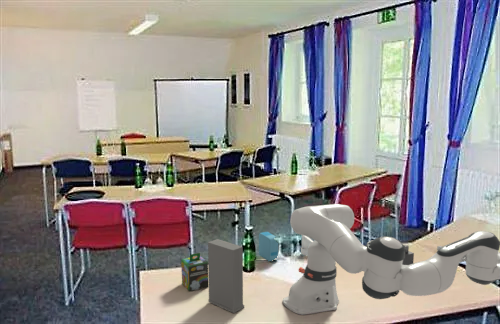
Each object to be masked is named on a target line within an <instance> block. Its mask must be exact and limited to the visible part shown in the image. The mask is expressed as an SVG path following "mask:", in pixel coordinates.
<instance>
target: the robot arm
mask: <svg viewBox="0 0 500 324" xmlns="http://www.w3.org/2000/svg"><path fill="white" fill-rule="evenodd" d="M289 223H290V227H291V229H292V230H293V231H294V233H296V234H297V235H300V236H302V235H304V236H307V237H309V238H310V239H311V240H313V242H312V243H311V244H310V245H309V247H308V256H306V257H307V260H306V261H307V262H306V263H307V264H306V266H305V268H303V267H301V266H300V267H299V268H298V272H299V273H301V274H303V275H302V276H301V277H300V278H299V279H297V281H296V282H294V284H292V285H291V286H290V288H289V291H288V296H286V297H283V299H282V305H284V306H285V307H286V308H287V309H288V310H290V311H291V312H293V313H295V314H298V315H300V316H301V315H303V316H304V315H309V314H316V313H322V312H328V311H330V312H331V311H336V310H337V309H338V307H337V305H338V304H339V303H340V300H339V296H338V291H337V283H336V277H337V266H336V264H337V265H338V266H340V267H341V268H342V269H343V270H344V271H345V272H347V273H349V274H352V275H353V274H359V273H361V272H363V277H362V279H361V287H362V290H363V292H364V293H365V294H366V295H368V296H369V297H370V298H372V299H374V300H385V299H389V298H391V297H393V298H394V297H396V296H397V295H399V293H400V291H401V292H402V293H404V294H406V295H408V296H412V297H413V296H414V297H422V296H423V297H425V296H431V295H435V294H436V295H437V294H441V293H444V292H445V291H447V290H448V289H449V288H450V287H451V286H452V285H453V282H454V280H455V277H456V273H457V269H458V267H459V265H460V263H463V262H465V263H466V264H465V275H466V276H467V278H468V279H469V280H470V281H472V282H474V283H475V284H479V285H484V286H487V285H491V284H492V283H494V282H496V281H497V280H500V252H499V251H500V239H499V238H498V237H497V236H496V235H495V233H493V232H490V231H486V230H478V231H474V232H471V234H469V235H468V236H465V237H463V238H461V239H458V240H455V241H453V242H450V243H448V244H446V245H437V248H436V250H437V251H436V252H435V253H434V254H433V255H432V256H431V257H429V258H427V259H425V260H422V261H417V262H413V264H410V265H402V263H403V259H404V258H405V247H404V245H405V244H403V243H402V242H401V240H398V239H397V238H395V237H392V236H387V235H385V236H380V237H377V238H375V239H371V240H369V241H367V243H366V244H365V245H363V244H362V242H361V241H360V240H359V238H358V237H357V236H356V235H355V234H354V232H353V231H352V230H351V228H353V226H354V223H355V213H354V211H353V209H352V208H351V207H350V206H349V205H346V204H340V203H331V204H321V205H308V206H304V207H303V206H302V207H300V208H297V209H294V210H293V212H292V213H291V214H290V222H289Z"/></svg>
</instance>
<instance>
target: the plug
mask: <svg viewBox="0 0 500 324" xmlns="http://www.w3.org/2000/svg"><path fill="white" fill-rule="evenodd" d="M403 245H404V247H405V258H404V259H403V263H402V265H410V264H413V263H414V259H415V257H414V256H415V253H414V252H412V251H410V250H409V249H410V248H409V247H410V246H409V245H408V244H403Z"/></svg>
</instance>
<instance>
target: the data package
mask: <svg viewBox="0 0 500 324" xmlns="http://www.w3.org/2000/svg"><path fill="white" fill-rule="evenodd" d="M275 237H277V236H276V235H274V234H272V233H271V232H269V231H264V232H259V234H258V255H259V256H260V257H261V258H263V259H264V260H266V261H267V260H268V261H267V262H269V261H271V262H273V261H272V260H274V259H275V258H277V256H278V257H279V242H278V243H277V242H276V241H275V240H274V238H275Z"/></svg>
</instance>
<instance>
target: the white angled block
mask: <svg viewBox="0 0 500 324" xmlns="http://www.w3.org/2000/svg"><path fill="white" fill-rule="evenodd" d="M313 241H314V240H313V239H311V238H309V237H307V236H304V235H301V248H300V249H301V253H302V254H303V255H302V256H306V257H307V256H308V247H309V245H310V244H311V243H312V242H313Z"/></svg>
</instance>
